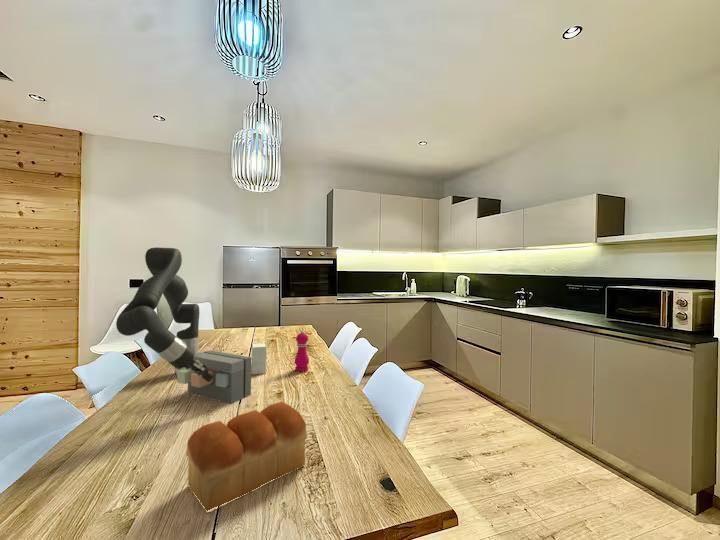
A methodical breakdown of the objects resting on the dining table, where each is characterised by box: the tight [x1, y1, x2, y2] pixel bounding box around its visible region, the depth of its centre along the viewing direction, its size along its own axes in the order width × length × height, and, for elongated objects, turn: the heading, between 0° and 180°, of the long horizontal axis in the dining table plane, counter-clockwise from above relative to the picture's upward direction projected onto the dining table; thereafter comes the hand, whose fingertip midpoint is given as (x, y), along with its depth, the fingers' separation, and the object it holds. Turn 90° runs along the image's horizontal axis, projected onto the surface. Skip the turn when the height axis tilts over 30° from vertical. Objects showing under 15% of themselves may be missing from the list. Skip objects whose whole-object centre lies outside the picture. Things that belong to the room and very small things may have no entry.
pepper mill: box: [294, 329, 310, 372], centre depth 164 cm, size 7×7×20 cm
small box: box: [251, 342, 267, 376], centre depth 160 cm, size 8×6×13 cm
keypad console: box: [187, 349, 252, 405], centre depth 131 cm, size 24×10×15 cm, turn 65°
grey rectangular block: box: [216, 372, 229, 387], centre depth 125 cm, size 4×8×4 cm, turn 155°
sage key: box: [176, 369, 193, 385], centre depth 128 cm, size 4×8×4 cm, turn 155°
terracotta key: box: [191, 369, 214, 388], centre depth 125 cm, size 4×8×4 cm, turn 155°
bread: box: [185, 401, 308, 511], centre depth 80 cm, size 25×12×15 cm, turn 135°
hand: (210, 379), depth 118 cm, fingers closed
